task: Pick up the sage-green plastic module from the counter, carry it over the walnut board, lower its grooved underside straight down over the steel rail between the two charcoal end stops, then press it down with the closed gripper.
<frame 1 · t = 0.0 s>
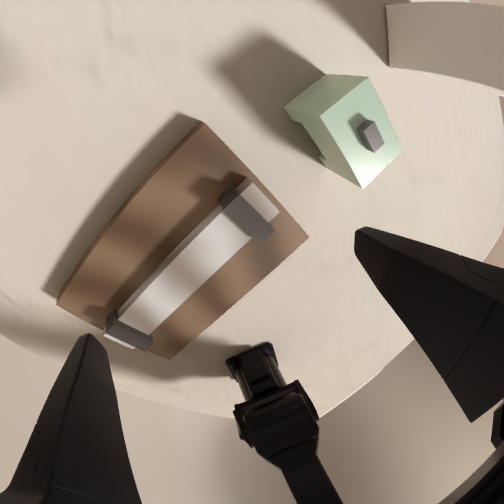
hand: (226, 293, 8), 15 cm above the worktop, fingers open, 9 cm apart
milk carton: (407, 42, 19), on the worktop
rail board: (176, 262, 24), on the worktop
module: (326, 121, 22), on the worktop
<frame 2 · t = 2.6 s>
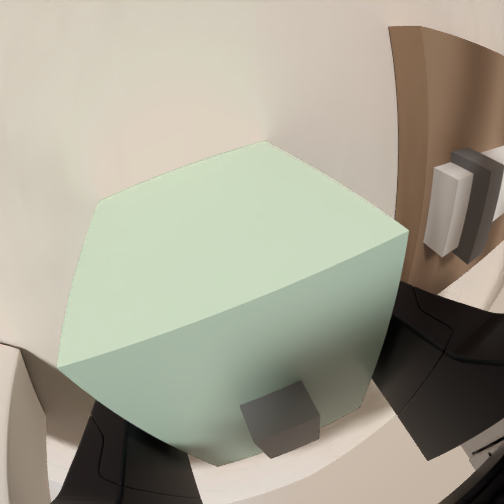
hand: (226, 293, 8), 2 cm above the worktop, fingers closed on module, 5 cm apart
rail board: (491, 159, 12), on the worktop
module: (214, 264, 9), on the worktop, touching gripper
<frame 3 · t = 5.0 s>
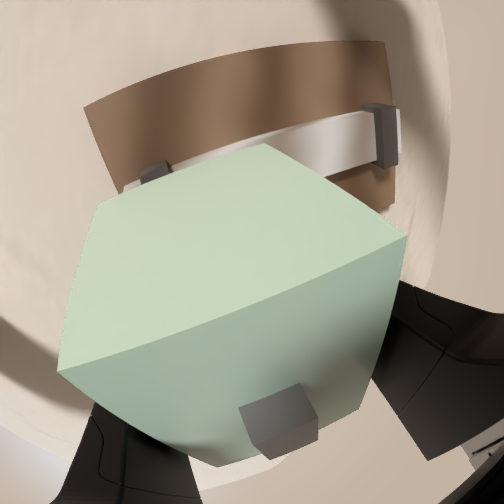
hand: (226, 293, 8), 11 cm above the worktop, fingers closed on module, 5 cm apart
rail board: (272, 151, 18), on the worktop
module: (214, 265, 9), point 10 cm above the worktop, touching gripper
when the fingers open (4 cm above the worktop, at t = 7.3 s): module stays where it is, resting on rail board.
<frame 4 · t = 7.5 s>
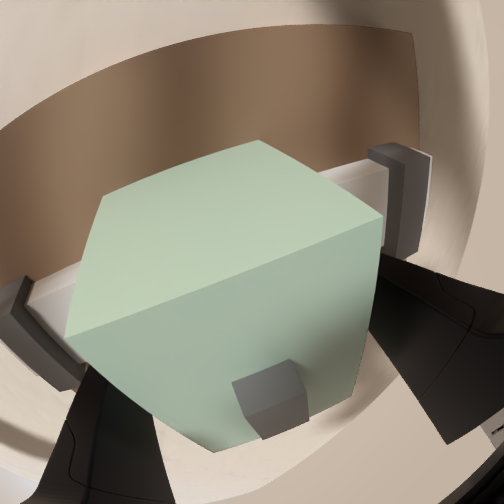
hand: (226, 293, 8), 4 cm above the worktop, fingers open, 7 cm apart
rail board: (203, 234, 11), on the worktop
module: (211, 256, 10), point 1 cm above the worktop, touching rail board
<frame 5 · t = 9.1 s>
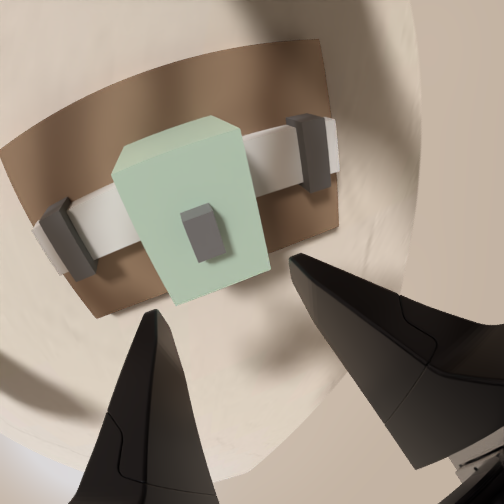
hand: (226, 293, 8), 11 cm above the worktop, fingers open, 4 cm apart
rail board: (182, 176, 17), on the worktop
module: (185, 185, 16), point 1 cm above the worktop, touching rail board
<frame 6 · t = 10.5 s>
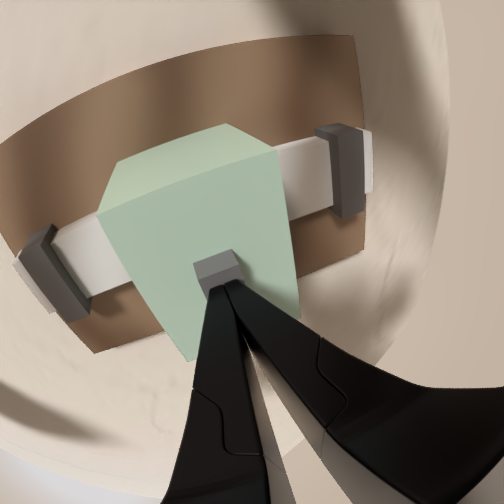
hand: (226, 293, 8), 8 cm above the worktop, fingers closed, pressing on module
rail board: (189, 197, 14), on the worktop
module: (193, 209, 13), point 1 cm above the worktop, touching gripper, rail board
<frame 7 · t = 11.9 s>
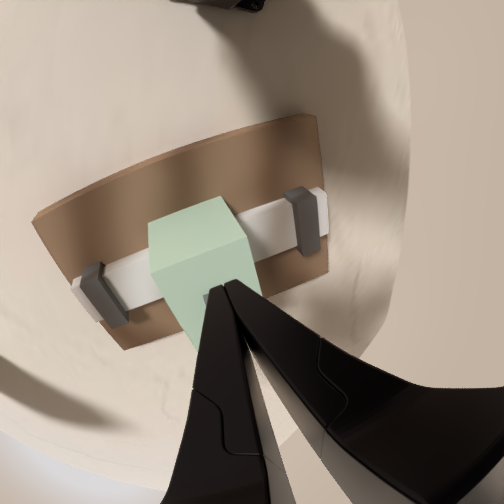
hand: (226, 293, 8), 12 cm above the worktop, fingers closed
rail board: (196, 240, 21), on the worktop
module: (200, 251, 20), point 1 cm above the worktop, touching rail board
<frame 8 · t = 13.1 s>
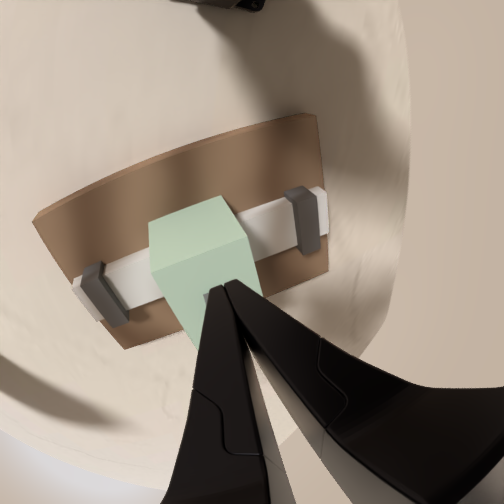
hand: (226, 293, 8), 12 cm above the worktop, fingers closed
rail board: (196, 239, 21), on the worktop
module: (200, 250, 20), point 1 cm above the worktop, touching rail board
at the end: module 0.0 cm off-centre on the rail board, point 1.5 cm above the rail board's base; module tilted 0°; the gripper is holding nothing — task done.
